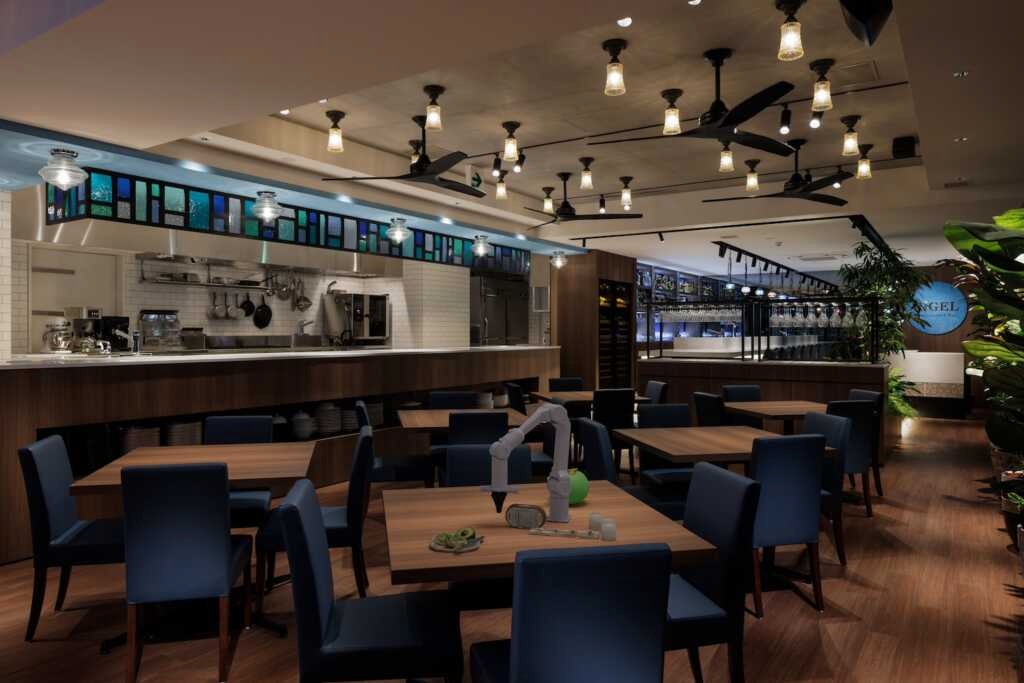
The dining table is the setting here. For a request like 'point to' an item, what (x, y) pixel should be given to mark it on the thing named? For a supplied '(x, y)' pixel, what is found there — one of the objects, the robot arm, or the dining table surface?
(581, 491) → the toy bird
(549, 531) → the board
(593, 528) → the cylindrical block
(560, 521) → the robot arm
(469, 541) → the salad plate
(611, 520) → the cylindrical block
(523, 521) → the tin
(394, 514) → the dining table surface
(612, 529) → the cylindrical block
